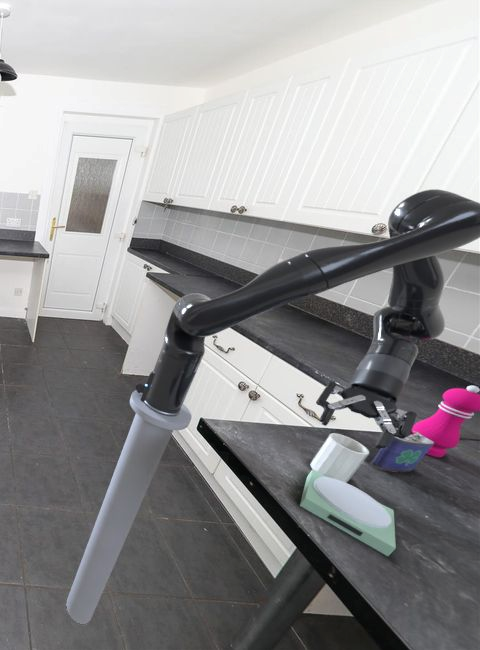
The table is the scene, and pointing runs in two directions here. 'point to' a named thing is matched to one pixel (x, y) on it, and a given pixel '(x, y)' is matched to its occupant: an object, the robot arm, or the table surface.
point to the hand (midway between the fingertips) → (350, 435)
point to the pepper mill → (449, 419)
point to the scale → (350, 511)
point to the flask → (402, 453)
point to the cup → (339, 457)
